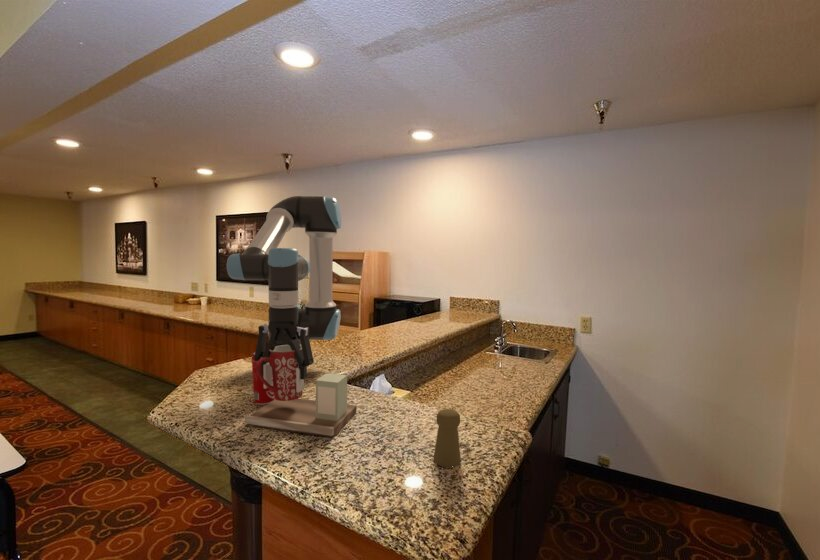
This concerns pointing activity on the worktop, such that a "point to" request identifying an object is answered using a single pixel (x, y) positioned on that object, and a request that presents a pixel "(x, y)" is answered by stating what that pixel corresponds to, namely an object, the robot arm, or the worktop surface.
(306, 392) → the worktop surface
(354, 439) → the worktop surface
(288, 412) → the shelf board
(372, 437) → the worktop surface
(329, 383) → the carton
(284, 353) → the mug
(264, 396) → the beverage can
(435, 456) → the pepper mill
